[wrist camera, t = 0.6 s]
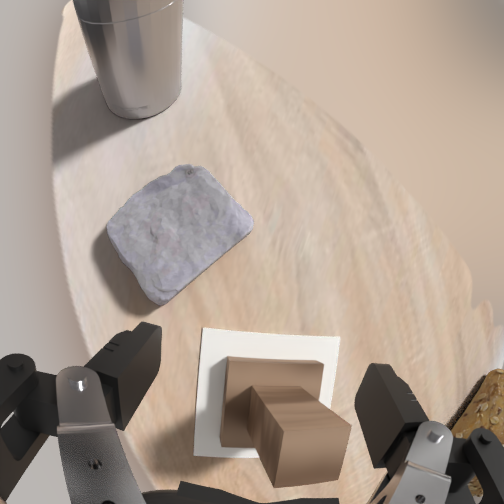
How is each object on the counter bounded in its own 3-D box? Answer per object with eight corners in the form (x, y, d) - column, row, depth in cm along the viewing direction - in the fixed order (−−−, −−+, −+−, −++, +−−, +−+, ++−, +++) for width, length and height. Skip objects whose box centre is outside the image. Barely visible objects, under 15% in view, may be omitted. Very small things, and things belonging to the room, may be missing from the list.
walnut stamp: (227, 356, 26) (250, 398, 15) (316, 360, 28) (384, 391, 16) (219, 438, 25) (236, 511, 13) (304, 437, 27) (357, 495, 15)
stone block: (108, 241, 28) (166, 316, 26) (89, 223, 23) (154, 310, 22) (194, 172, 31) (258, 235, 29) (190, 145, 27) (264, 214, 25)
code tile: (203, 327, 27) (203, 327, 26) (339, 336, 29) (340, 336, 29) (193, 455, 24) (193, 455, 24) (320, 453, 27) (321, 453, 27)
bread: (515, 405, 35) (555, 412, 23) (461, 492, 30) (499, 511, 18) (485, 349, 34) (543, 353, 22) (414, 465, 29) (467, 496, 17)
